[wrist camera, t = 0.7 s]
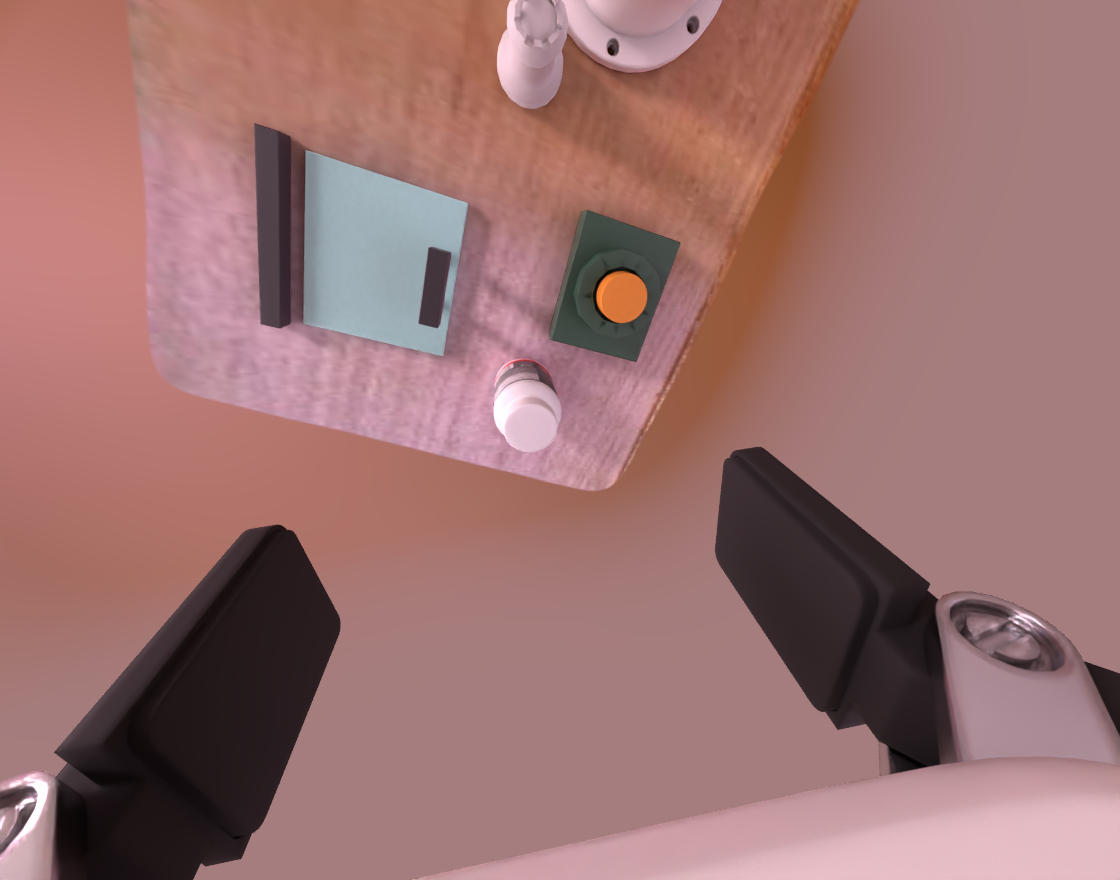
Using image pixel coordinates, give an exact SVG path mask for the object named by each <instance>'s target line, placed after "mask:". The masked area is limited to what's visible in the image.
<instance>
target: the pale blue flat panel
mask: <svg viewBox="0 0 1120 880" xmlns="http://www.w3.org/2000/svg"><path fill="white" fill-rule="evenodd" d="M468 205H469V204H468V203H467V202H464V201H461V200H458V199H454V198H451V197H448V196H445V195H442V194H439V193H436V192H433V191H430V190H427V189H424V188H421V187H418V186H415V185H412V184H409V183H406V182H403V181H400V180H396V179H393V178H390V177H387V176H384V175H381V174H378V173H375V172H372V171H369V170H366V169H363V168H360V167H357V166H354V165H351V164H348V163H345V162H342V161H338V160H335V159H332V158H329V157H326V156H323V155H320V154H317V153H314V152H311V151H308V150H306V152H305V227H304V301H303V324H307V325H311V326H315V327H320V328H324V329H328V330H333V331H337V332H341V333H345V334H350V335H354V336H358V337H362V338H367V339H371V340H375V341H380V342H384V343H388V344H392V345H397V346H401V347H405V348H409V349H414V350H418V351H422V352H427V353H431V354H435V355H439V356H443V355H444V351H445V345H446V339H447V333H448V327H449V321H450V315H451V309H452V302H453V296H454V290H455V284H456V278H457V272H458V266H459V260H460V254H461V248H462V242H463V236H464V230H465V223H466V217H467V211H468Z"/></svg>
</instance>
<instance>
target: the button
mask: <svg viewBox="0 0 1120 880" xmlns="http://www.w3.org/2000/svg"><path fill="white" fill-rule="evenodd" d="M596 301H597V305H598V308H599V309H600V311H601V312H602V313H603V314H604V315H605V316H606V317H607V318H609V319H610V320H612V321H614V322H617V323H627V322H630V321H632V320H634V319H636V318H637V317H638V316H639V315H640V314H641V313H642V311H643V310H644V308H645V306H646V302H647V289H646V286H645V284H644V282H643V281H642V280H641V279H640V278H639V277H638V276H636V275H634V274H632V273H629V272H625V271H616V272H612V273H610V274H609V275H607V276H606V277H605V278H604V279H603V280H602V281H601V283H600V284H599V286H598V289H597V293H596Z"/></svg>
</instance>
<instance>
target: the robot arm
mask: <svg viewBox="0 0 1120 880" xmlns="http://www.w3.org/2000/svg"><path fill="white" fill-rule="evenodd" d="M562 1H563V3H564V4H565V8H566V13H567V18H568V29H567V33H568V34H569V36H570V37H571V38H572V39H573V41H574V42H575V43H576V44H577V46H578V47H579V48H580V49H581V50H582V51H583V52H585V53H586V54H587V55H588V56H589V57H591V58H592V59H593V60H594V61H596V62H598V63H600V64H602V65H604V66H606V67H608V68H610V69H613V70H617V71H622V72H626V73H635V72H646V71H650V70H653V69H657V68H660V67H662V66H664V65H666V64H667V63H669V62H671V61H673V60H675V59H676V58H677V57H678V56H680V55H681V54H682V53H683V52H684V51H686V50H687V49H688V48H689V47H690V46H691V45H692V44H693V43H694V42H695V41H696V40H697V39H698V38H699V37H700V36H701V35H702V33H703V32H704V31H705V29H706V28H707V26H708V25H709V23H710V22H711V20H712V19H713V18H714V16H715V15H716V13H717V11H718V8H719V6H720V4H721V2H722V0H562ZM686 26H689V27H690V29H691V32H690V33H689V32H688V31H687V27H686ZM608 48H611V49H613V55H612V56H611V55H609V54H608V52H607V49H608ZM715 553H716V558H717V560H718V563H719V565H720V566H721V568H722V569H723V571H724V572H725V574H726V575H727V577H728V578H729V580H730V582H731V583H732V584H733V586H734V587H735V589H736V591H737V592H738V594H739V595H740V597H741V598H742V600H743V601H744V603H745V604H746V606H747V607H748V609H749V610H750V611H751V613H752V615H753V616H754V618H755V619H756V621H757V622H758V624H759V625H760V627H761V628H762V630H763V631H764V633H765V634H766V636H767V637H768V639H769V640H770V642H771V643H772V645H773V646H774V648H775V649H776V651H777V652H778V654H779V655H780V656H781V658H782V660H783V661H784V663H785V664H786V666H787V667H788V669H789V670H790V672H791V673H792V675H793V676H794V678H795V679H796V681H797V682H798V684H799V685H800V687H801V688H802V690H803V692H804V693H805V695H806V696H807V698H808V699H809V701H810V702H811V703H812V705H813V706H814V707H815V708H816V709H817V710H819V711H821V712H826V713H827V715H828V716H829V718H830V719H831V721H832V722H833V724H834V725H835V726H836V728H837V729H838V730H839V729H844V728H849V727H853V726H858V725H862V724H867V726H868V727H869V729H870V730H871V731H872V733H873V734H874V735H875V737H876V738H877V739H878V741H879V768H880V769H879V770H880V777H875V778H870V779H865V780H860V781H855V782H850V783H844V784H839V785H834V786H829V787H824V788H820V789H815V790H810V791H806V792H802V793H797V794H792V795H788V796H783V797H779V798H775V799H770V800H765V801H760V802H756V803H751V804H747V805H743V806H738V807H733V808H729V809H724V810H720V811H715V812H711V813H706V814H702V815H697V816H692V817H688V818H683V819H679V820H674V821H670V822H666V823H661V824H656V825H651V826H647V827H642V828H638V829H633V830H629V831H624V832H620V833H616V834H612V835H607V836H602V837H598V838H593V839H589V840H585V841H580V842H576V843H571V844H567V845H562V846H558V847H553V848H549V849H545V850H541V851H536V852H532V853H527V854H522V855H518V856H513V857H509V858H505V859H500V860H496V861H492V862H487V863H483V864H478V865H474V866H470V867H465V868H461V869H456V870H452V871H447V872H443V873H439V874H435V875H430V876H425V877H421V878H416V879H412V880H1120V674H1119V673H1116V672H1114V671H1111V670H1108V669H1105V668H1102V667H1099V666H1096V665H1093V664H1090V663H1087V662H1084V661H1083V659H1082V656H1081V655H1080V653H1079V652H1078V651H1077V649H1076V648H1075V646H1074V645H1073V643H1072V642H1071V641H1070V640H1069V639H1068V638H1067V637H1066V636H1065V635H1064V634H1063V633H1061V632H1060V631H1059V630H1058V629H1057V628H1056V627H1055V626H1053V625H1052V624H1050V623H1049V622H1047V621H1046V620H1044V619H1043V618H1041V617H1039V616H1038V615H1036V614H1035V613H1033V612H1031V611H1029V610H1027V609H1025V608H1023V607H1021V606H1018V605H1017V604H1015V603H1012V602H1009V601H1007V600H1003V599H1001V598H998V597H995V596H992V595H987V594H982V593H976V592H952V593H949V594H946V595H943V596H942V597H941V598H940V599H939V600H938V599H937V598H936V597H935V596H933V595H932V594H931V593H930V592H929V591H927V590H928V588H929V585H930V583H929V582H927V581H926V580H925V579H924V578H922V577H921V576H920V575H919V574H918V573H916V572H915V571H914V570H913V569H911V568H910V567H909V566H908V565H907V564H905V563H904V562H903V561H902V560H900V559H899V558H898V557H897V556H896V555H894V554H893V553H892V552H891V551H889V550H888V549H887V548H886V547H884V546H883V545H882V544H881V543H880V542H878V541H877V540H876V539H875V538H873V537H872V536H871V535H870V534H868V533H867V532H866V531H865V530H863V529H862V528H861V527H860V526H859V525H857V524H856V523H855V522H854V521H852V520H851V519H850V518H849V517H848V516H846V515H845V514H844V513H843V512H841V511H840V510H839V509H838V508H836V507H835V506H834V505H833V504H832V503H830V502H829V501H828V500H826V499H825V498H824V497H823V496H822V495H820V494H819V493H818V492H817V491H816V490H814V489H813V488H812V487H811V486H809V485H808V484H807V483H806V482H804V481H803V480H802V479H801V478H799V477H798V476H797V475H796V474H795V473H793V472H792V471H791V470H790V469H788V468H787V467H786V466H785V465H784V464H782V463H781V462H780V461H779V460H777V459H776V458H775V457H774V456H773V455H771V454H770V453H769V452H768V451H766V450H765V449H764V448H762V447H754V448H748V449H742V450H736V451H734V452H733V453H732V454H731V456H730V458H727V459H726V460H725V461H724V465H723V475H722V485H721V495H720V505H719V516H718V526H717V536H716V545H715ZM339 632H340V618H339V615H338V613H337V611H336V610H335V608H334V606H333V604H332V602H331V600H330V598H329V596H328V594H327V592H326V591H325V589H324V587H323V585H322V583H321V581H320V579H319V577H318V576H317V574H316V572H315V570H314V568H313V566H312V564H311V562H310V561H309V559H308V557H307V555H306V553H305V551H304V549H303V547H302V546H301V544H300V542H299V540H298V538H297V536H296V535H295V533H294V532H293V531H291V530H286V528H284V527H283V526H282V525H272V526H266V527H259V528H254V529H249V530H246V531H245V532H243V533H242V534H241V535H240V537H239V538H238V539H237V540H236V541H235V542H234V544H233V545H232V546H231V547H230V548H229V549H228V550H227V552H226V553H225V554H224V555H223V556H222V557H221V559H220V560H219V561H218V562H217V563H216V565H215V566H214V567H213V568H212V569H211V570H210V572H209V573H208V574H207V575H206V576H205V577H204V578H203V580H202V581H201V582H200V583H199V584H198V585H197V587H196V588H195V589H194V590H193V591H192V592H191V594H190V595H189V596H188V597H187V598H186V599H185V601H184V602H183V603H182V604H181V605H180V607H179V608H178V609H177V610H176V611H175V612H174V613H173V615H172V616H171V617H170V618H169V619H168V620H167V622H166V623H165V624H164V625H163V626H162V627H161V629H160V630H159V631H158V632H157V633H156V634H155V635H154V637H153V638H152V639H151V640H150V641H149V643H148V644H147V645H146V646H145V647H144V648H143V649H142V651H141V652H140V653H139V654H138V655H137V656H136V658H135V659H134V660H133V661H132V662H131V663H130V665H129V666H128V667H127V668H126V669H125V671H124V672H123V673H122V674H121V675H120V676H119V678H118V679H117V680H116V681H115V682H114V683H113V685H112V686H111V687H110V688H109V689H108V690H107V691H106V693H105V694H104V695H103V696H102V697H101V698H100V700H99V701H98V702H97V703H96V704H95V705H94V707H93V708H92V709H91V710H90V711H89V713H88V714H87V715H86V716H85V717H84V718H83V719H82V721H81V722H80V723H79V724H78V725H77V726H76V728H75V729H74V730H73V731H72V732H71V733H70V735H69V736H68V737H67V738H66V739H65V740H64V741H63V743H62V744H61V745H60V746H59V747H58V748H57V750H56V751H55V752H54V753H55V754H57V755H58V756H59V757H61V758H62V759H63V760H65V761H66V762H67V764H66V765H65V767H64V768H63V769H62V770H61V771H60V773H59V774H58V775H57V776H56V777H55V776H54V775H51V774H49V773H47V772H44V771H38V772H28V773H25V774H21V775H19V776H16V777H13V778H11V779H8V780H5V781H3V782H1V783H0V880H193V879H194V877H195V874H196V872H197V870H198V868H199V866H200V864H201V863H202V864H203V865H204V866H209V865H214V864H219V863H224V862H229V861H233V860H238V859H241V858H242V856H243V854H244V851H245V849H246V846H247V844H248V842H249V839H250V837H251V834H252V833H253V832H255V831H256V830H257V829H259V827H260V826H261V825H262V823H263V821H264V819H265V817H266V815H267V813H268V810H269V808H270V805H271V803H272V800H273V798H274V795H275V793H276V790H277V788H278V785H279V783H280V780H281V778H282V775H283V773H284V770H285V768H286V765H287V763H288V760H289V758H290V755H291V753H292V750H293V748H294V745H295V743H296V741H297V738H298V735H299V733H300V731H301V728H302V725H303V723H304V720H305V718H306V716H307V713H308V711H309V708H310V706H311V703H312V701H313V698H314V695H315V693H316V691H317V688H318V686H319V683H320V680H321V678H322V676H323V673H324V670H325V668H326V666H327V663H328V661H329V658H330V656H331V653H332V650H333V648H334V645H335V643H336V641H337V638H338V636H339Z"/></svg>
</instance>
